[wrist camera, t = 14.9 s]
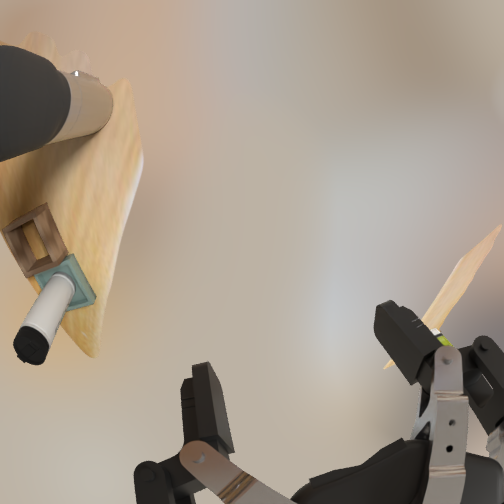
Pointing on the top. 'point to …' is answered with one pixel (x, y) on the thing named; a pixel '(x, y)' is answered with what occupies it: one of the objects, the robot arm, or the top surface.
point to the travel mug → (44, 319)
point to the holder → (48, 236)
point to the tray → (83, 288)
